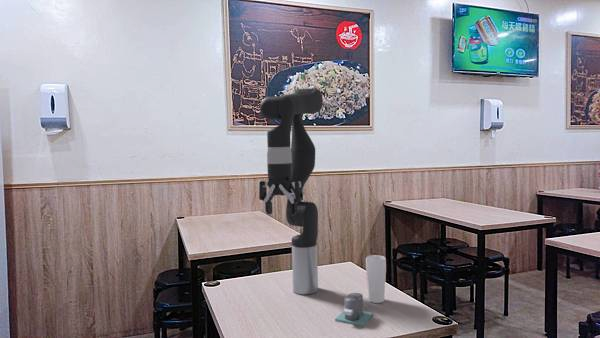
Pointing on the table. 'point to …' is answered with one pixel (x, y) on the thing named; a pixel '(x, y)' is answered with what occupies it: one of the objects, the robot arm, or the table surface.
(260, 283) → the table surface
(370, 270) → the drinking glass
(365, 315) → the mat
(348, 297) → the grey lobed figure
